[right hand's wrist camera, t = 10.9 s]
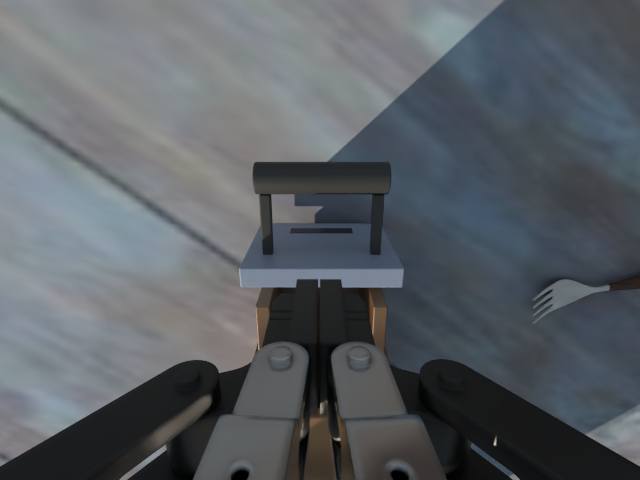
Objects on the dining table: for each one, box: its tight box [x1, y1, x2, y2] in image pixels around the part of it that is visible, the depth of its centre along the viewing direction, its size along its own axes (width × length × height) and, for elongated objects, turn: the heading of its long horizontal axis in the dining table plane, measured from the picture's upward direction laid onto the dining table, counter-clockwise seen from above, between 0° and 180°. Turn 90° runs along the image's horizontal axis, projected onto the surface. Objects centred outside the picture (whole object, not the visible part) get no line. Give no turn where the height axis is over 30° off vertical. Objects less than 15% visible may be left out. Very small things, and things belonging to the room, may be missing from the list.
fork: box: [532, 276, 640, 324], centre depth 29 cm, size 3×16×2 cm, turn 102°
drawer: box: [239, 162, 404, 408], centre depth 26 cm, size 24×9×8 cm, turn 0°
